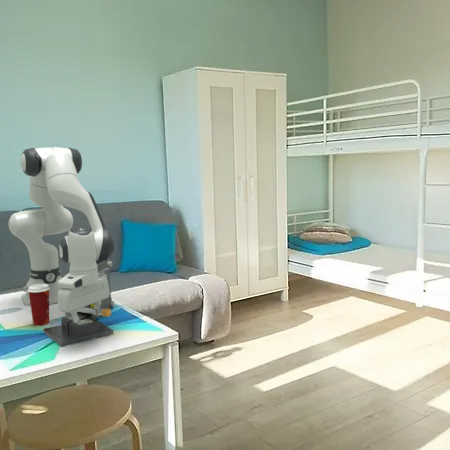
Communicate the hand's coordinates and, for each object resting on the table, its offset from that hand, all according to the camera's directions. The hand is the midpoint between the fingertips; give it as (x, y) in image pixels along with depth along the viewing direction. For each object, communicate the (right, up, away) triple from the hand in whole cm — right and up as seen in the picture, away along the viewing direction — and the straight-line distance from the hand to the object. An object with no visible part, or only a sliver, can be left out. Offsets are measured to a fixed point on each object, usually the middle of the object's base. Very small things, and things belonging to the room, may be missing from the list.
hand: (86, 318), depth 168 cm
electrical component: (-5, -4, +30) cm, 31 cm away
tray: (-5, -7, +7) cm, 11 cm away
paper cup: (-22, -6, +19) cm, 30 cm away
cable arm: (-2, 0, +8) cm, 8 cm away
